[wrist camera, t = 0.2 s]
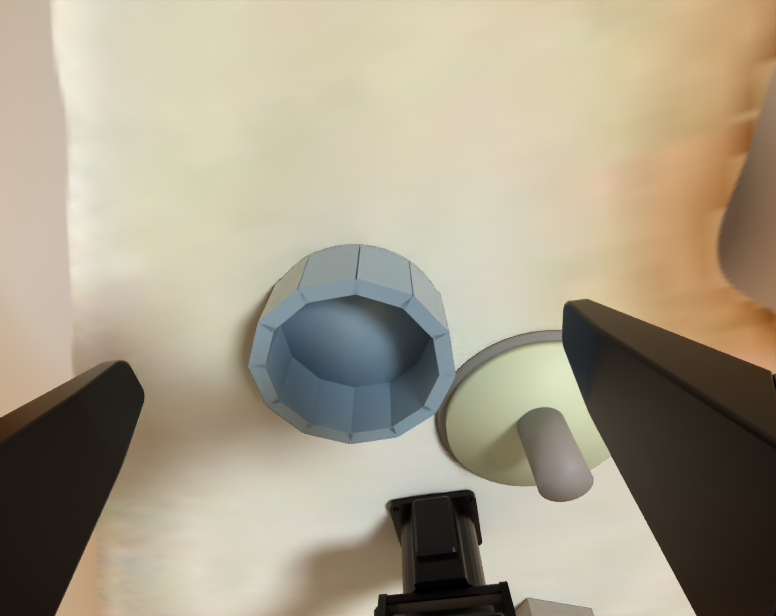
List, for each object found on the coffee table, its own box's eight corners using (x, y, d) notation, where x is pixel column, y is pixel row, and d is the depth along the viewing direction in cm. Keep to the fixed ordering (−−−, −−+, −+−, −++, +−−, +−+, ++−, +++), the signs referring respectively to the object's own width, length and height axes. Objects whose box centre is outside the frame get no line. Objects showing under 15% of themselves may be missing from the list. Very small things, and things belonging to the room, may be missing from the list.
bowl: (452, 375, 28) (463, 427, 24) (299, 399, 29) (287, 453, 25) (429, 227, 23) (438, 262, 19) (245, 262, 24) (219, 302, 20)
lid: (624, 464, 31) (665, 535, 27) (456, 486, 33) (468, 558, 28) (639, 324, 25) (695, 385, 21) (433, 358, 27) (443, 422, 22)
